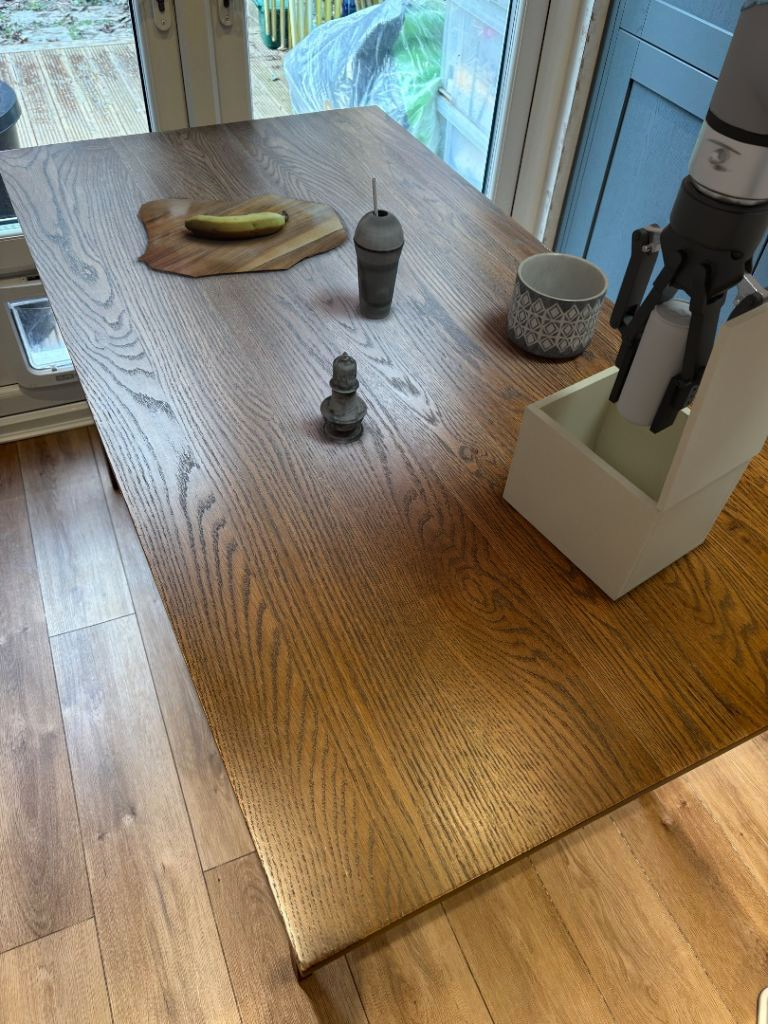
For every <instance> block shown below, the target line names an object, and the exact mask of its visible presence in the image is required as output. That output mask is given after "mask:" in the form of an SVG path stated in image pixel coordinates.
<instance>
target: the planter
mask: <svg viewBox="0 0 768 1024" xmlns="http://www.w3.org/2000/svg"><path fill="white" fill-rule="evenodd" d="M609 285H610V283H609V278H608V276H607V274H606V273H605V272H604V271H603V269H602V268H600V266H598V265H597V264H595V263H593V262H592V261H590V260H588V259H585V258H583V257H579V256H577V255H573V254H569V253H563V252H541V253H536V254H532V255H530V256H528V257H525V258H524V259H523V260H522V261H521V262H520V263H519V264H518V266H517V272H516V275H515V280H514V284H513V290H512V294H511V299H510V304H509V308H508V312H507V317H506V323H505V331H506V334H507V336H508V338H509V339H510V340H511V342H512V343H513V344H514V345H516V346H517V347H519V348H520V349H522V350H523V351H525V352H527V353H529V354H532V355H535V356H539V357H542V358H548V359H567V358H572V357H576V356H578V355H580V354H581V353H583V352H585V351H586V350H587V349H588V348H589V346H590V345H591V343H592V339H593V337H594V333H595V329H596V327H597V323H598V321H599V317H600V314H601V310H602V308H603V305H604V302H605V298H606V295H607V291H608V289H609Z"/></svg>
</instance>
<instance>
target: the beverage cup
mask: <svg viewBox="0 0 768 1024" xmlns="http://www.w3.org/2000/svg"><path fill="white" fill-rule="evenodd" d="M371 183H372V185H371V186H372V200H373V201H372V202H373V209H372V210H371V211H368V212H367V213H365V214H363V216H362V217H361V218H360V219H359V221H358V222H357V225H356V227H355V230H354V235H353V238H352V240H353V244H354V249H355V250H354V251H355V255H356V268H357V270H356V271H357V285H358V287H357V288H358V302H359V308H360V309H359V312H360V314H361V316H363V317H364V318H367V319H370V320H382V319H386V318H387V317H388V316H389V315H390V313H391V308H392V304H393V298H394V292H395V286H396V280H397V274H398V268H399V263H400V259H401V257H402V256H401V255H402V251H403V248H404V246H405V241H406V240H405V235H404V229H403V226H402V224H401V221H400V220H399V218H397V216H395V214H394V213H392V212H390V211H388V210H386V209H379V208H378V195H377V194H378V193H377V180H376V177H372V178H371Z"/></svg>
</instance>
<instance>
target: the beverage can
mask: <svg viewBox="0 0 768 1024" xmlns="http://www.w3.org/2000/svg"><path fill="white" fill-rule="evenodd" d="M689 304H690V300H687V299H683V298H677V297H673V298H671V299H670V300H669V301H667V302H664V303H662V304H660V305H655V309H653V310H652V312H651V314H650V317H649V319H648V322H647V325H646V327H645V330H644V333H643V335H642V338H641V341H640V344H639V346H638V349H637V352H636V355H635V358H634V360H633V363H632V366H631V368H630V371H629V374H628V376H627V379H626V382H625V384H624V387H623V390H622V392H621V395H620V398H619V400H618V403H617V408H618V411H619V413H620V415H621V416H622V417H623V418H624V419H625V420H626V421H628V422H629V423H632V424H634V425H638V426H651V424H652V422H653V420H654V417H655V415H656V413H657V410H658V408H659V406H660V403H661V401H662V399H663V396H664V394H665V392H666V389H667V387H668V385H669V382H670V380H671V378H672V377H674V376H676V375H678V374H680V373H681V372H682V366H683V360H684V354H685V348H686V342H687V336H688V330H689V325H690V319H691V312H690V311H689Z"/></svg>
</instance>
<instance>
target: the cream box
mask: <svg viewBox="0 0 768 1024" xmlns="http://www.w3.org/2000/svg"><path fill="white" fill-rule="evenodd" d="M618 372H619V369H618V368H617V367H615V364H614V365H612V366H610V367H608V368H606V369H603V370H602V371H600V372H597V373H595V374H593V375H590V376H589V377H586V378H584V379H582V380H580V381H578V382H575V383H573V384H571V385H569V386H566V387H564V388H563V389H560V390H558V391H556V392H554V393H552V394H550V395H547V396H545V397H543V398H540V399H538V400H536V401H535V402H532V403H530V404H528V405H525V407H524V412H523V416H522V420H521V423H520V426H519V431H518V435H517V438H516V443H515V447H514V451H513V455H512V459H511V462H510V467H509V470H508V474H507V478H506V482H505V485H504V490H503V494H502V499H504V500H505V501H506V502H507V503H508V504H509V505H510V506H511V507H512V508H513V509H514V510H516V512H518V513H519V514H520V515H521V516H522V517H523V518H524V519H525V520H527V522H529V523H530V524H531V525H532V527H534V528H535V529H536V530H537V531H538V532H539V533H540V534H542V535H543V537H545V538H546V539H547V540H548V541H549V542H550V543H551V544H552V545H553V546H554V547H556V548H557V549H558V550H559V551H560V552H561V553H562V554H563V555H564V557H566V558H567V559H568V560H570V562H571V563H573V564H574V566H576V567H577V568H578V569H579V570H580V571H581V572H583V573H584V575H585V576H587V577H588V578H589V579H590V580H591V581H592V582H593V583H594V584H595V585H597V587H599V589H600V590H602V591H603V592H604V593H605V594H606V595H607V596H608V597H609V598H610V599H611V600H612V601H617V600H618V599H619V598H622V597H623V596H624V595H626V594H627V593H629V592H631V590H633V589H635V588H636V587H638V586H639V585H641V584H642V583H644V582H645V581H647V580H649V579H650V578H651V577H653V576H655V575H656V574H657V573H659V572H661V571H662V570H663V569H665V568H667V567H668V566H670V565H671V564H673V563H674V562H676V561H678V560H679V559H681V558H682V557H683V556H685V555H687V554H688V553H690V552H691V551H693V550H694V549H695V548H697V547H699V546H700V545H702V544H703V543H704V542H705V540H706V539H707V536H708V535H709V533H710V532H711V529H712V528H713V526H714V524H715V522H716V521H717V519H718V517H719V516H720V515H721V512H722V511H723V509H724V507H725V505H727V502H728V500H729V499H730V497H731V495H732V493H733V491H734V490H735V489H736V487H737V485H738V483H739V482H740V480H741V478H742V476H743V475H744V473H745V472H746V470H747V467H748V466H749V464H750V462H751V461H752V459H753V457H752V458H750V459H749V460H747V461H745V462H744V463H742V464H741V465H739V466H737V467H736V468H734V469H732V470H731V471H729V472H727V473H726V474H724V475H722V476H721V477H719V478H718V479H716V480H714V481H713V482H711V483H709V484H708V485H706V486H704V487H703V488H701V489H699V490H698V491H696V492H695V493H693V494H691V495H690V496H688V497H686V498H685V499H683V500H681V501H680V502H678V503H676V504H675V505H673V506H672V507H670V508H668V509H667V510H665V511H663V512H662V511H660V510H659V509H658V508H656V506H657V503H658V501H659V498H660V495H661V492H662V489H663V487H664V484H665V481H666V478H667V475H668V473H669V470H670V467H671V464H672V461H673V459H674V456H675V453H676V450H677V447H678V445H679V442H680V439H681V436H682V433H683V431H684V428H685V425H686V422H687V419H688V417H689V414H690V411H691V408H689V407H686V408H684V409H682V410H680V411H679V412H678V414H677V416H676V419H675V421H674V423H673V425H671V426H670V427H668V428H666V429H664V430H662V431H660V432H658V433H657V434H654V433H652V432H651V431H650V430H649V429H650V427H651V426H638V425H634V424H632V423H629V422H628V421H626V420H625V419H624V418H623V417H622V416H621V415H620V413H619V411H618V408H617V403H618V402H616V403H612V402H611V401H610V400H608V399H609V396H610V394H611V391H612V388H613V385H614V383H615V380H616V377H617V374H618Z"/></svg>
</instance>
